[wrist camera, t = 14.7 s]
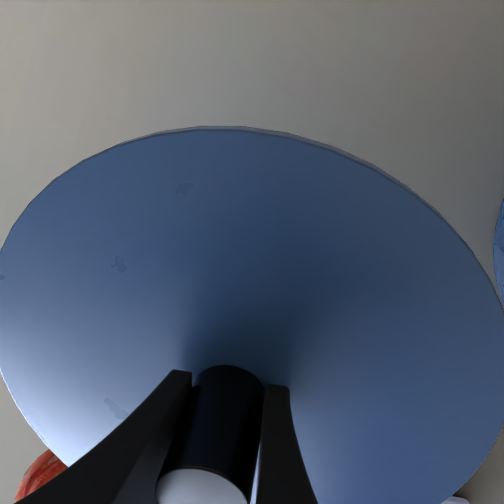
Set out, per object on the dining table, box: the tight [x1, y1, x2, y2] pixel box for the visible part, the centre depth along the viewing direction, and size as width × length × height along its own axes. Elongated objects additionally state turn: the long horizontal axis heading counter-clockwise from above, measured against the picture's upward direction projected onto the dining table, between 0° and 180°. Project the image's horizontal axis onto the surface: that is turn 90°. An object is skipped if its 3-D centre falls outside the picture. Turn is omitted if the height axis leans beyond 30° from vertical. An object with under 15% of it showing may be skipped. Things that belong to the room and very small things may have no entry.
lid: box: [0, 126, 504, 504], centre depth 12 cm, size 17×17×5 cm
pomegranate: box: [15, 449, 68, 503], centre depth 25 cm, size 7×7×10 cm
